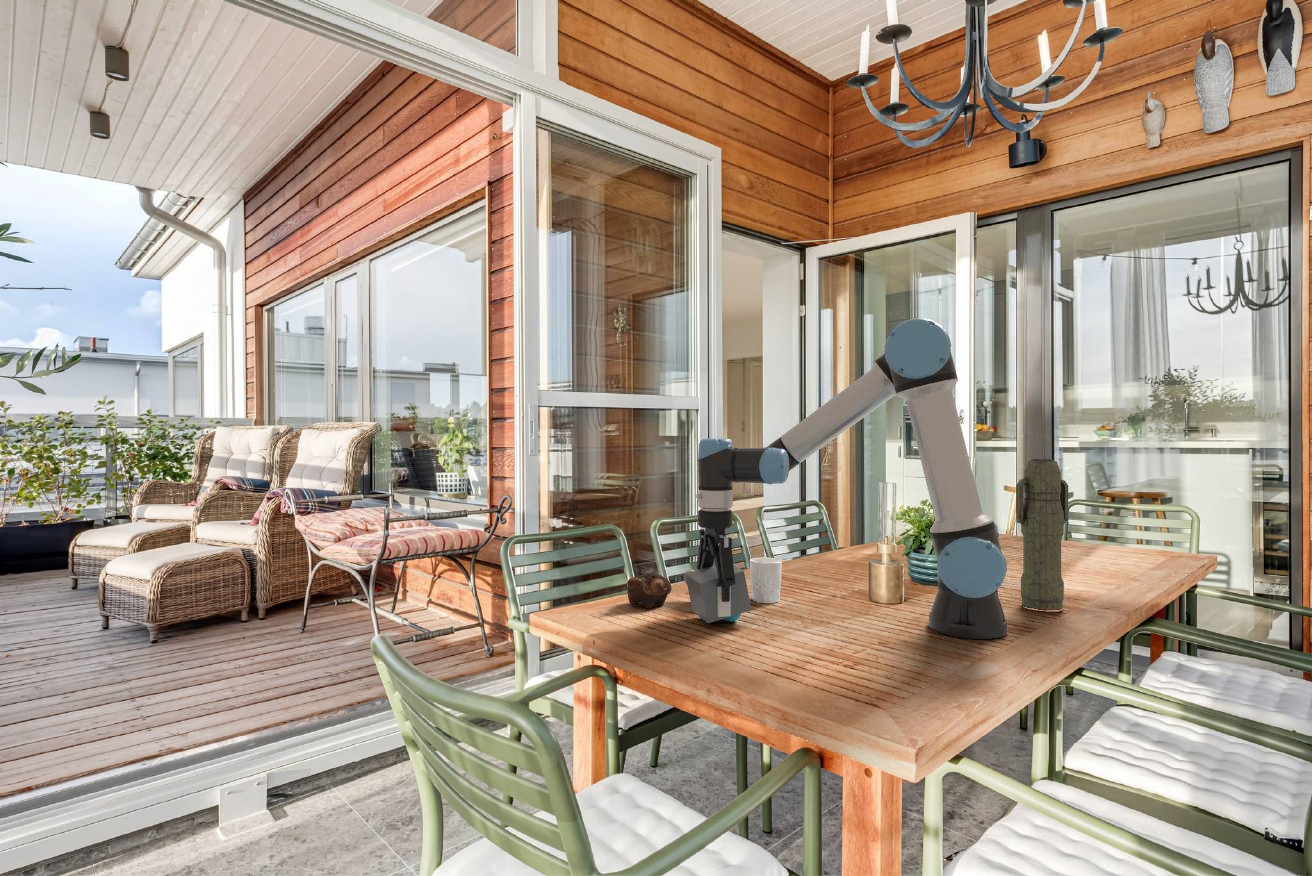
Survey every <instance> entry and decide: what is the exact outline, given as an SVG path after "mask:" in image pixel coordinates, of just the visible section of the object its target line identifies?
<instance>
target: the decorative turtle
mask: <svg viewBox="0 0 1312 876" xmlns="http://www.w3.org/2000/svg"><path fill="white" fill-rule="evenodd" d="M626 589H627V590H626V591H627V597H628V598H627V599H628V602H629V605H630V606H631V607H637V606H638V605H639V604H640V603H641V604H642V605H643V606H644V608H646V609H647V610H651V609H652V608H653V607H654V606H655V604H656V605H657V606H659V605H660V606H659V607H662V605H663V606H664V604H665V602H666V600H667V598H668V595H670V593H671V592H672V589H673V588H672V584H671V582H670V580H669V579H668V578H666V577H665V576H662V575H660V574H658V573H652V572H651V573H650V572H649V573H643V574H640V575H638V576H637V577H636V576H633V577H630V578H629V579H628V580H627V584H626Z"/></svg>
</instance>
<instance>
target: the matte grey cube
mask: <svg viewBox="0 0 1312 876" xmlns="http://www.w3.org/2000/svg"><path fill="white" fill-rule="evenodd" d="M684 575H685V576H686V581H687V584H686V585H687V590H688V594H689V600H690V605H691V610H692V612H693V613H694V614H695V615H697V616H698V617H699V618H701V619H702V620H703V621H704V622H705V623H707V624H711V623H714V622H717V621H720V620H721V621H722V620H724V618H728V617H731V616H734V615H738V614H741V615H742V614H744V613H747V612H751V611H752V606H751V605H752V604H751V599H750V594H749V590H748V585H747V579H746V574H745V571H744V570H743V569H742V568H739V567H737V566H735V565H734V575H735V585H732V586H731V616H726V617H718V616H717V586H716V584H717V583H719V580H718V574H717V569H716V564H715V565H714V564H713V566H712V567H707V568H703V569H700V570H697V569H696V570H694V571H693V572H689V573H686V572H685V573H684Z"/></svg>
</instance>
